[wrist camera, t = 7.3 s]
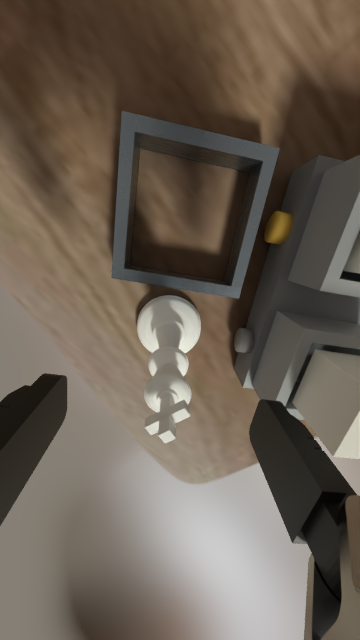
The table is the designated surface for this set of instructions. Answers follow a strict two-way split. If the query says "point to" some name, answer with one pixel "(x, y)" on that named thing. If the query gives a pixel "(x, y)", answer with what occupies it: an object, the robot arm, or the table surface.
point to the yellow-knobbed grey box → (304, 282)
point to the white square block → (354, 258)
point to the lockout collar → (202, 149)
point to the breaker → (332, 401)
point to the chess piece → (168, 360)
